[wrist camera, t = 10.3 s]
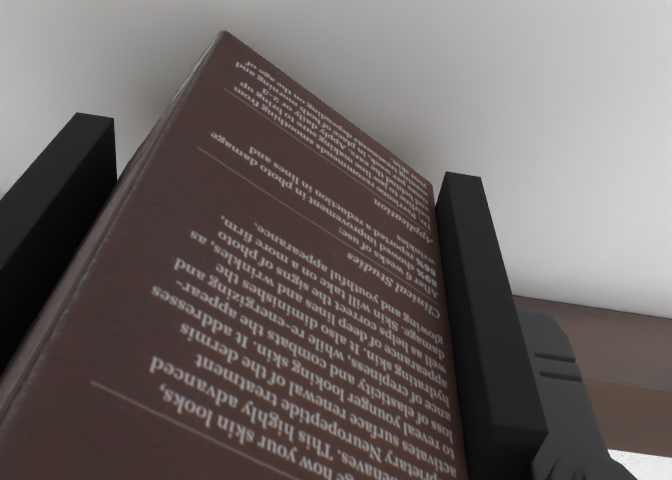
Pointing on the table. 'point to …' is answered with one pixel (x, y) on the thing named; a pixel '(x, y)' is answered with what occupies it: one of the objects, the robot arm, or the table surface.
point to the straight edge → (621, 372)
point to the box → (244, 306)
